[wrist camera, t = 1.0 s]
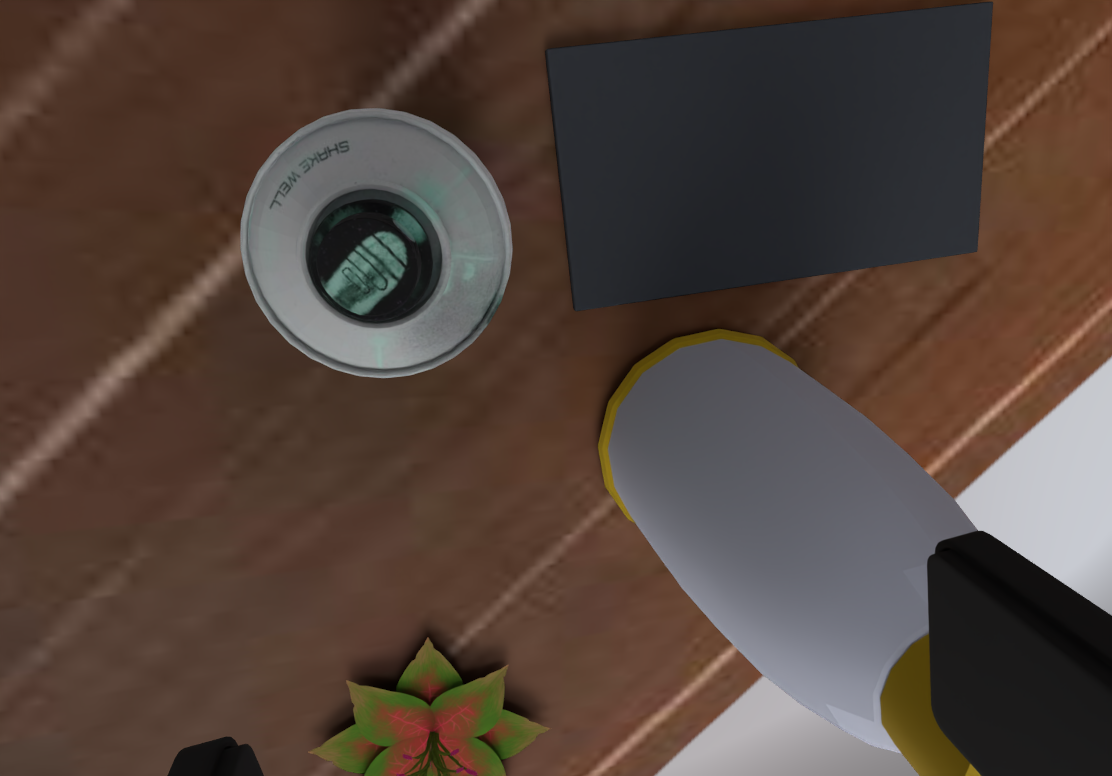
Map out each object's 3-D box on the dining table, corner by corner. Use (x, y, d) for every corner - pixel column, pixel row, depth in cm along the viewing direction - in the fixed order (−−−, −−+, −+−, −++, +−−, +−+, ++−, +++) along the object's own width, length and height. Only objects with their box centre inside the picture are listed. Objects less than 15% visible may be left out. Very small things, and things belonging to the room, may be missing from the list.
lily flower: (437, 852, 41) (437, 932, 37) (267, 747, 38) (245, 822, 33) (586, 715, 40) (604, 781, 36) (426, 593, 37) (424, 650, 32)
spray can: (487, 158, 31) (564, 145, 12) (460, 282, 32) (490, 446, 13) (357, 122, 30) (218, 46, 11) (334, 253, 31) (174, 388, 12)
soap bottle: (850, 367, 37) (1721, 789, 12) (748, 561, 39) (1291, 1249, 14) (655, 284, 34) (1258, 607, 9) (558, 498, 36) (822, 1222, 11)
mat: (544, 50, 30) (546, 48, 30) (985, 3, 32) (993, 1, 32) (573, 309, 33) (575, 311, 33) (970, 251, 36) (978, 252, 35)
